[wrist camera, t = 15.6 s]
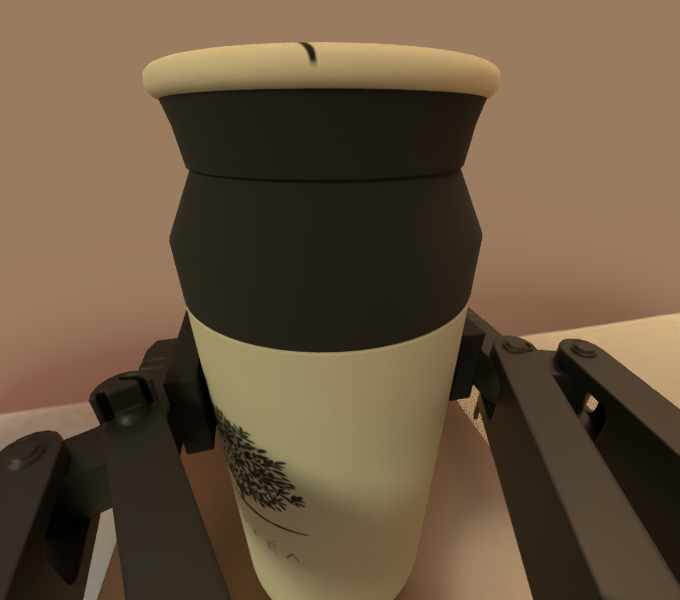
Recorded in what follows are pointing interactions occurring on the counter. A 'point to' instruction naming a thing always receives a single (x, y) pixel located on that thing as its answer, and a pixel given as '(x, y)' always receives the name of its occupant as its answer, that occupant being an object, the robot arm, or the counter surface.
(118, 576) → the walnut board
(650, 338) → the counter surface
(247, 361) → the travel mug
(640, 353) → the counter surface
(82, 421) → the counter surface
